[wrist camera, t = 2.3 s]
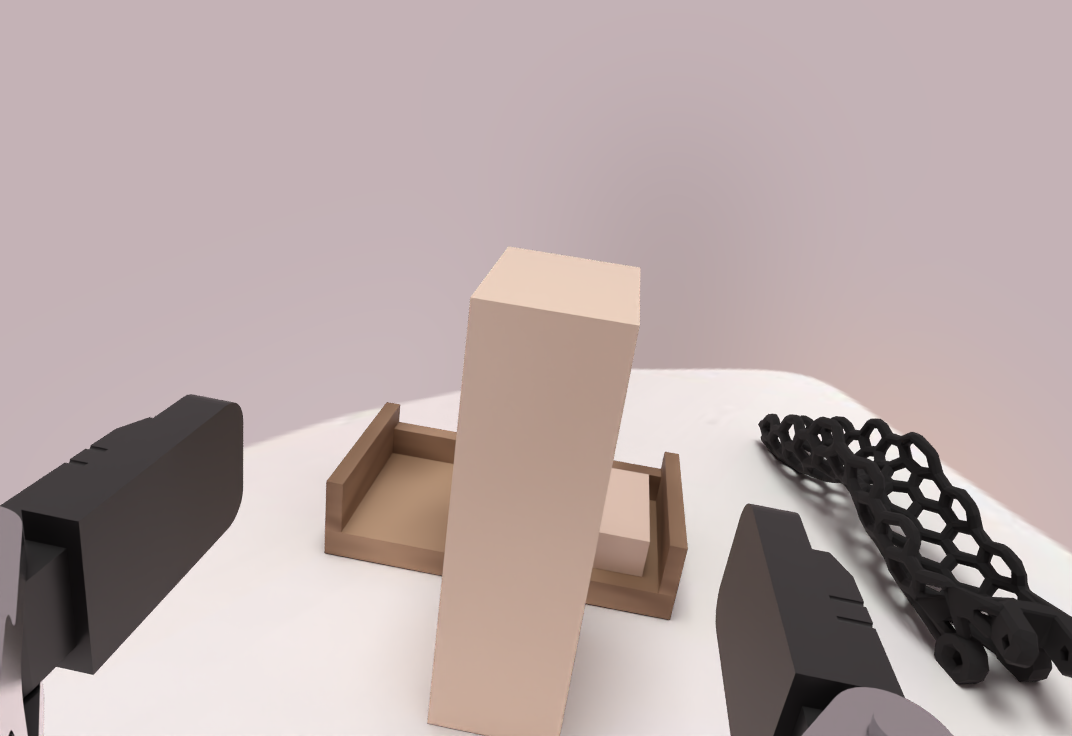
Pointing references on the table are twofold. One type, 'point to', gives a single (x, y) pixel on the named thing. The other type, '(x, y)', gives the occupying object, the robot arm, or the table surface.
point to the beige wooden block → (529, 486)
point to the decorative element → (1011, 625)
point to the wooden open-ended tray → (423, 506)
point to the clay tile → (624, 524)
